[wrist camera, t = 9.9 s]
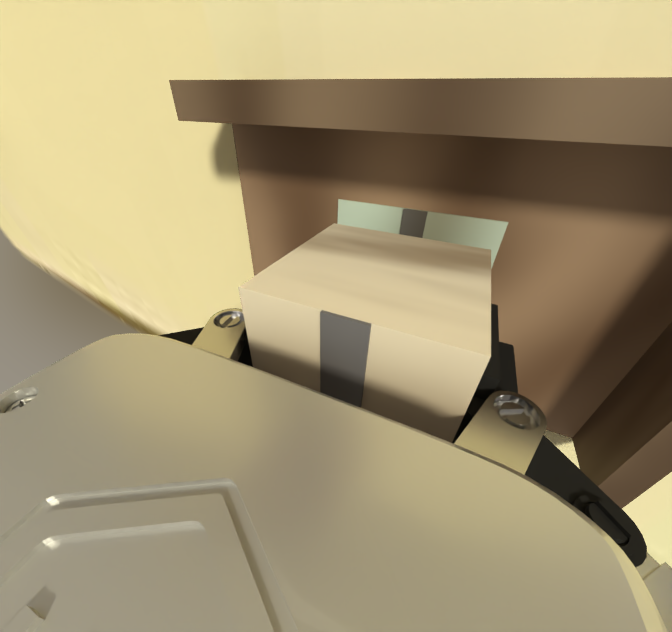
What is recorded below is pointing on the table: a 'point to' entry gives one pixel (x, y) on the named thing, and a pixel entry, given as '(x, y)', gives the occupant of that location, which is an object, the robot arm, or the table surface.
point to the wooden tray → (495, 222)
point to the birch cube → (377, 323)
